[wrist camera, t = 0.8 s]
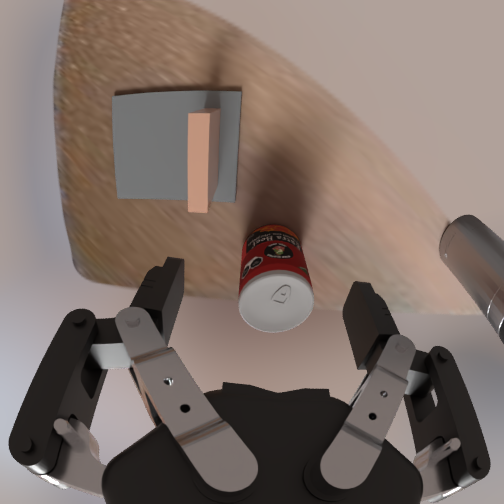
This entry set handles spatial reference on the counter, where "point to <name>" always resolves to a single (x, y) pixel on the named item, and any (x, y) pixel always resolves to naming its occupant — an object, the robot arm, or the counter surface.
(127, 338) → the robot arm
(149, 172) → the mat
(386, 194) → the counter surface
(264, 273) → the canned food
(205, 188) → the block
